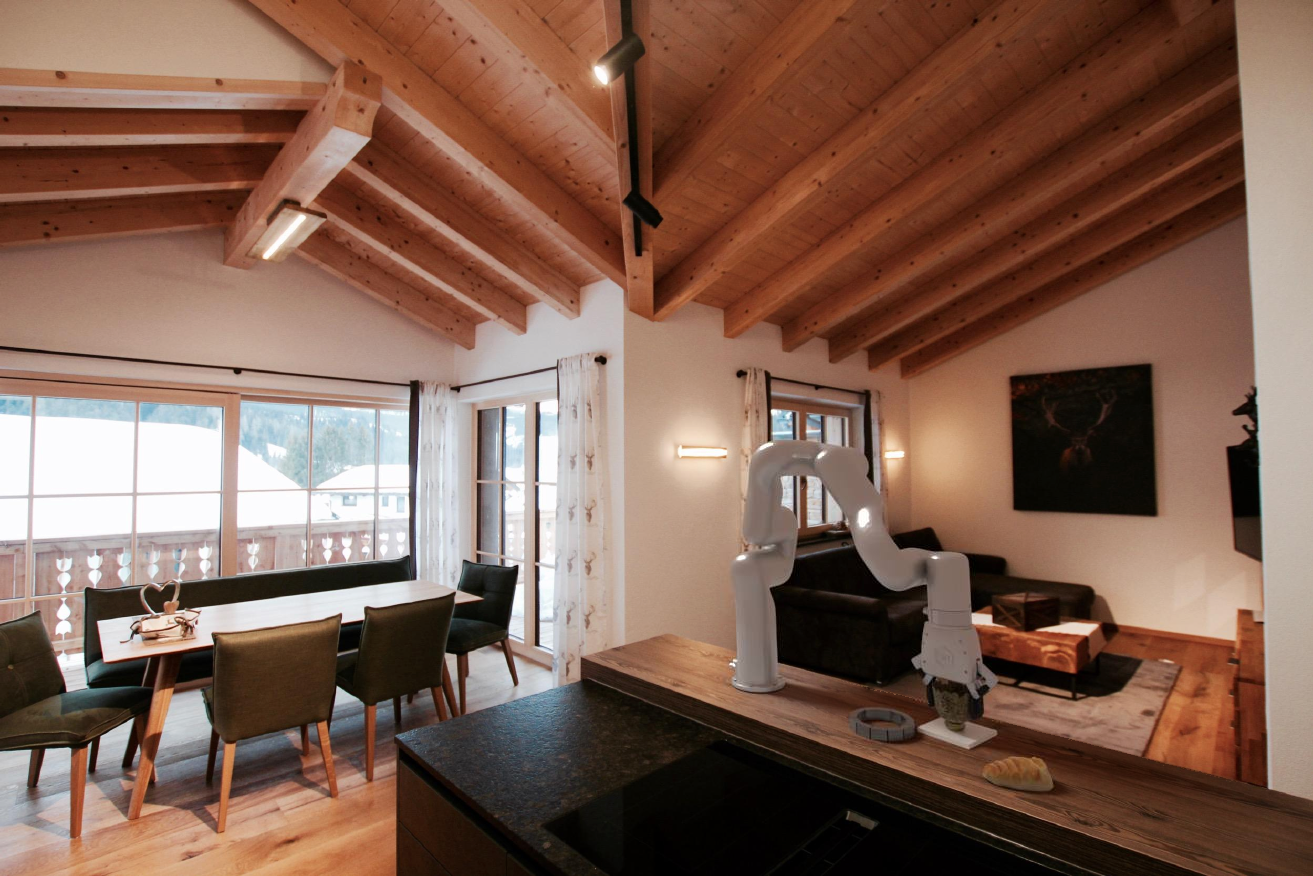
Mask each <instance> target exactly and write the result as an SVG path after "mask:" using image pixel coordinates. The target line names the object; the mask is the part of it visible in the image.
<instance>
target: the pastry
mask: <svg viewBox="0 0 1313 876" xmlns="http://www.w3.org/2000/svg"><path fill="white" fill-rule="evenodd" d="M982 776H983V777H984V778H985V779H986V780H987V781H989V782H990V783H992V784H994V785H996V786H998V787H1005V788H1009V789H1010V788H1011V789H1014V790H1018V791H1022V790H1023V791H1032V792H1033V791H1034V792H1050V791H1051V790H1052V789H1053V788H1054V782H1053V779H1052V776H1051V774H1050V773H1049V770H1048V766H1047V764H1046V763H1045V761H1043V759H1042V758H1039V757H1038V758H1037V757H1035V756H1033V757H1031V758H1028V757H1025V756H1024V757H1022V756H1013V755H1012V756H1009V757H1007V758H1004V759H1001V760H994V761H993V762H989V763H987V764H985V765H984V767H983V769H982Z"/></svg>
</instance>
